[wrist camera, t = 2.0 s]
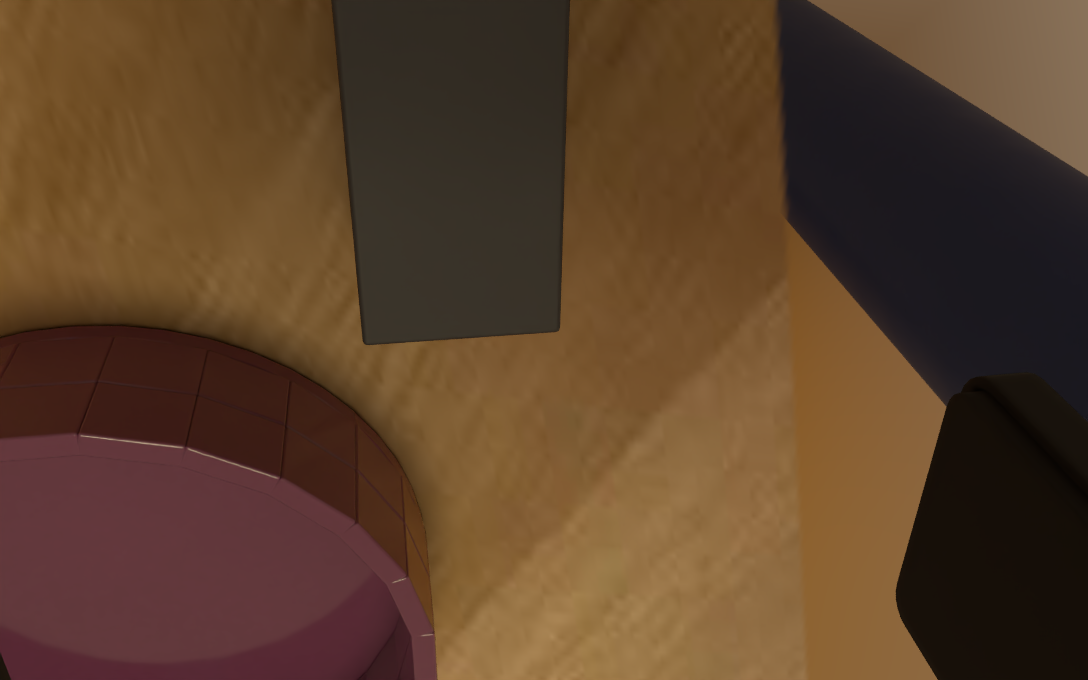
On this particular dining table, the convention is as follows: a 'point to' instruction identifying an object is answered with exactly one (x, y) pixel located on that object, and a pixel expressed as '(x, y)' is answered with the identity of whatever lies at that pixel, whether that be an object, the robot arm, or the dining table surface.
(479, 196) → the eraser
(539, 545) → the dining table surface
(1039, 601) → the robot arm
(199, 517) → the bowl
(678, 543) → the dining table surface
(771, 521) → the dining table surface
